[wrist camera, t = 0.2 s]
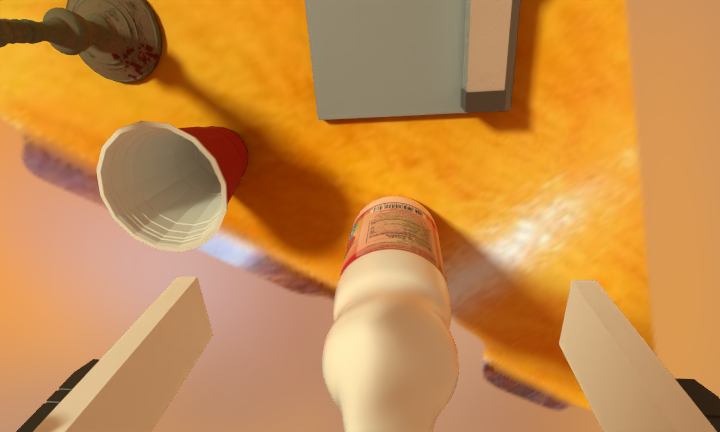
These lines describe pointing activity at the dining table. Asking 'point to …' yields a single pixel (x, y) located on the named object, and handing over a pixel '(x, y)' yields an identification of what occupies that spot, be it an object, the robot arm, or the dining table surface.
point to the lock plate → (392, 56)
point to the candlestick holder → (96, 35)
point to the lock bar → (485, 55)
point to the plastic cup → (170, 181)
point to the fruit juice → (391, 323)
